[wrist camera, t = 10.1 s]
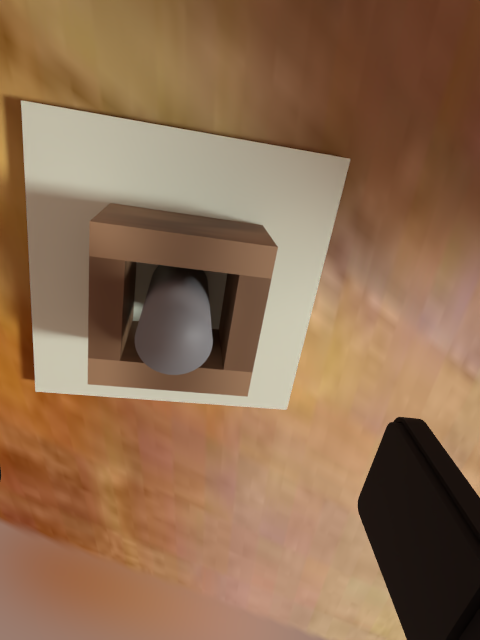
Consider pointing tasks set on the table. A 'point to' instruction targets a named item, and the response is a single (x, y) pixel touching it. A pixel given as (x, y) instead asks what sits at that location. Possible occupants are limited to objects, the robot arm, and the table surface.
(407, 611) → the robot arm
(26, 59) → the table surface
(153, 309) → the post stand
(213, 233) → the walnut ring
